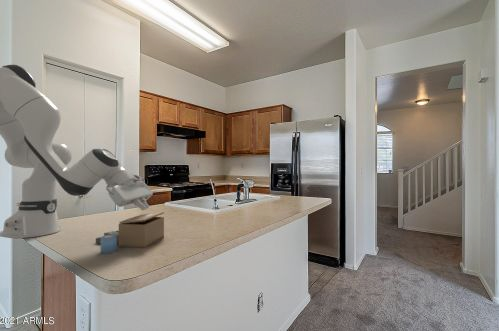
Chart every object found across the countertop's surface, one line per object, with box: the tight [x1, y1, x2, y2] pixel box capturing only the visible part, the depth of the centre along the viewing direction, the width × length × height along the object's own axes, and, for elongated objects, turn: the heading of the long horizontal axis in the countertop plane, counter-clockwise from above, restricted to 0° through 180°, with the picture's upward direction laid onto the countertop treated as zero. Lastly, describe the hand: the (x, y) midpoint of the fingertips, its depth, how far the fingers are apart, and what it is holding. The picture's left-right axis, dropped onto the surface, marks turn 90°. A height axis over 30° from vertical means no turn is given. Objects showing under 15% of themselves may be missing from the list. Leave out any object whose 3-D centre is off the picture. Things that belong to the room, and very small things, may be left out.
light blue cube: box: [100, 235, 118, 255], centre depth 84 cm, size 5×5×5 cm
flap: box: [118, 211, 165, 224], centre depth 96 cm, size 10×14×1 cm, turn 172°
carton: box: [118, 216, 165, 249], centre depth 96 cm, size 10×14×8 cm
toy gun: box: [95, 230, 119, 244], centre depth 103 cm, size 25×3×15 cm
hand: (146, 208), depth 96 cm, fingers closed
